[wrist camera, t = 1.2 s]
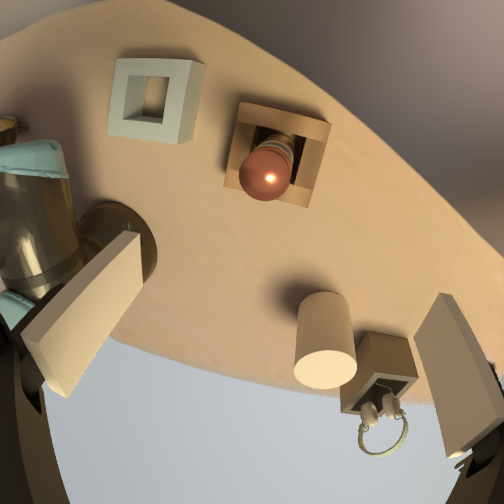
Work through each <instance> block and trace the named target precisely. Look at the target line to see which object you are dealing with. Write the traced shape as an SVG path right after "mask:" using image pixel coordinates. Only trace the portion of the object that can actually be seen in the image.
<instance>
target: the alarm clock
mask: <svg viewBox="0 0 504 504" xmlns="http://www.w3.org/2000/svg"><path fill="white" fill-rule="evenodd" d="M22 130H28V127H26V128H24V127H18V120H17V119H16V118H15V117H13V116H10V115H0V147H3V146H7V145H12V144H15V142H16V138H17V132H18V131H22Z"/></svg>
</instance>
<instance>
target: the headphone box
mask: <svg viewBox="0 0 504 504" xmlns="http://www.w3.org/2000/svg"><path fill="white" fill-rule="evenodd" d="M355 354H356V363H357V371H356V373H355V375H354V377H353V378H352V379H351V380H350V381H348V382H347V383H345V384H343V385H341V386H340V402H341V413H347V414H355V415H360V413H361V406H362V405H363V404H365V403H367V402H369V401H370V402H372V403H373V404H374V405H375V407H376V410H377V413H378V417H381V416H382V415H383V414H384V413H385V412H384V409H383V405H382V398H383V396H384V395H386V394H388V393H391V390H390V389H389V388H387V387H384V386H380V385H385V386H388V387H390V388H391V389H392V393H393V394H394V396H395V398H396V397H397V398H398V399H399V398H400V397H401V396H402V395H403V394H404V393H405V392H406V391H407V390H408V389H409V388H410V387H411V386H412V385H413V384H414V382H415V381H416V380H417V379H418V378H419V377H418V373H417V370H416V366H415V362H414V359H413V355H412V352H411V349H410V345H409V342H408V339H405V338H400V337H395V336H390V335H385V334H380V333H375V332H370V331H368V332H367V333H366V335H365V337H364V338H363V340H362V341H361V343H360V344H359V346H358V348H357V349H356V351H355ZM374 382H376V383H378V384H380V385H377V384H376V383H374Z"/></svg>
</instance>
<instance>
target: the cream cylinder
mask: <svg viewBox="0 0 504 504" xmlns="http://www.w3.org/2000/svg"><path fill="white" fill-rule="evenodd" d="M356 371H357V363H356V354H355V346H354V339H353V331H352V324H351V318H350V311H349V306H348V303H347V301H346V300H345V299H344V298H343V297H342V296H341V295H339V294H337V293H334V292H329V291H322V292H316V293H313V294H311V295H309V296H308V297H306V298H305V299H304V300H303V301H302V302H301V304H300V306H299V309H298V323H297V338H296V352H295V364H294V375H295V377H296V378H297V380H298V381H299V382H301V383H302V384H304V385H306V386H308V387H312V388H317V389H329V388H334V387H338V386H341V385H343V384H345V383H347V382H348V381H350V380H351V379H352V378H353V377H354V375H355V373H356Z"/></svg>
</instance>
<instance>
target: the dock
mask: <svg viewBox="0 0 504 504" xmlns="http://www.w3.org/2000/svg"><path fill="white" fill-rule="evenodd" d="M205 68H206V65H204V64H202V63H199V62H196V61H193V60H182V59H162V58H121V59H117V61H116V67H115V73H114V79H113V85H112V92H111V100H110V108H109V118H108V128H107V135H111V136H119V137H127V138H134V139H142V140H148V141H155V142H161V143H168V144H174V145H178V144H181V143H184V142H186V141H189V140H192V138H193V131H194V126H195V120H196V114H197V108H198V103H199V98H200V93H201V87H202V82H203V78H204V73H205ZM148 77H161V78H170V80H169V85H168V91H167V97H166V103H165V109H164V115H163V118H155V117H146V116H142V115H143V108H144V101H145V94H146V88H147V82H148Z"/></svg>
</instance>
